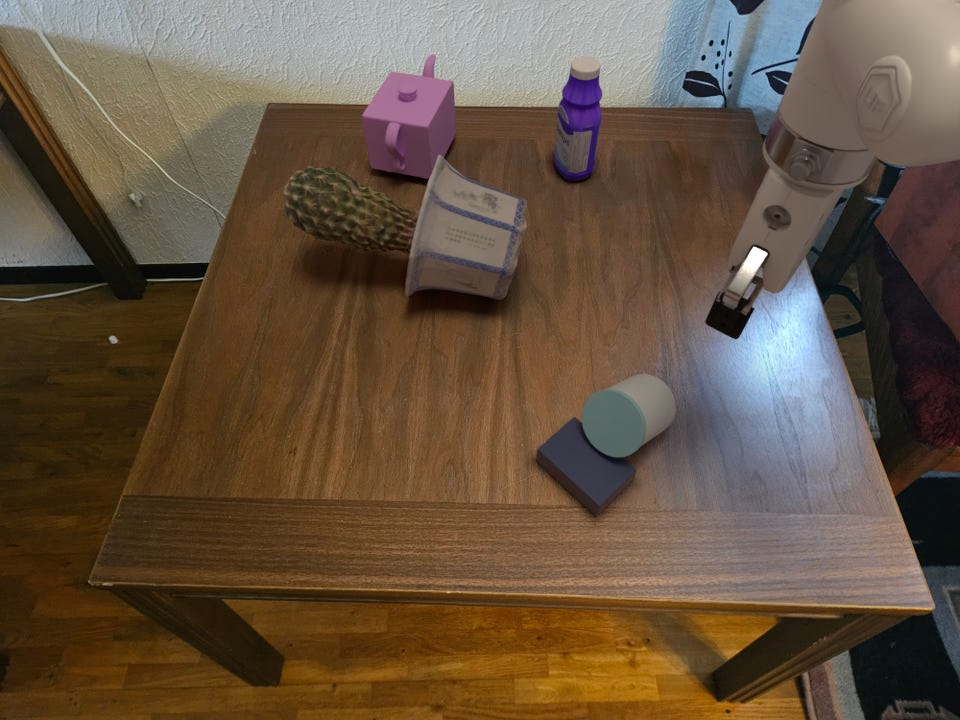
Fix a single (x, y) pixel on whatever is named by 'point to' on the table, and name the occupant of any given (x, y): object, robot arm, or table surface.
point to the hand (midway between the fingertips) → (744, 296)
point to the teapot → (410, 122)
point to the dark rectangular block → (584, 467)
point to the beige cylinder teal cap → (628, 414)
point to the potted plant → (419, 226)
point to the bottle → (579, 120)
